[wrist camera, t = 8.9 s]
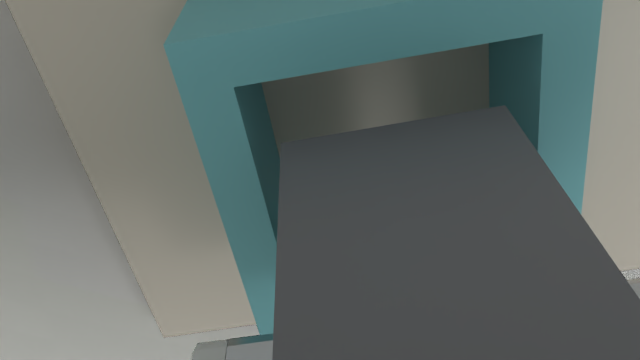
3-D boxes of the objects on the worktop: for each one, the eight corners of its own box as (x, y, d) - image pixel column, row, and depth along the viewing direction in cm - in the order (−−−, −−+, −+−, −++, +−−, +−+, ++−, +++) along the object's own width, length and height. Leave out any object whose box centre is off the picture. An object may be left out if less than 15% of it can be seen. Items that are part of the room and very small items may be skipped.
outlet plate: (738, -297, 11) (957, -343, 8) (641, 245, 19) (726, 355, 15) (-35, -138, 12) (-178, -109, 9) (169, 315, 20) (140, 434, 16)
